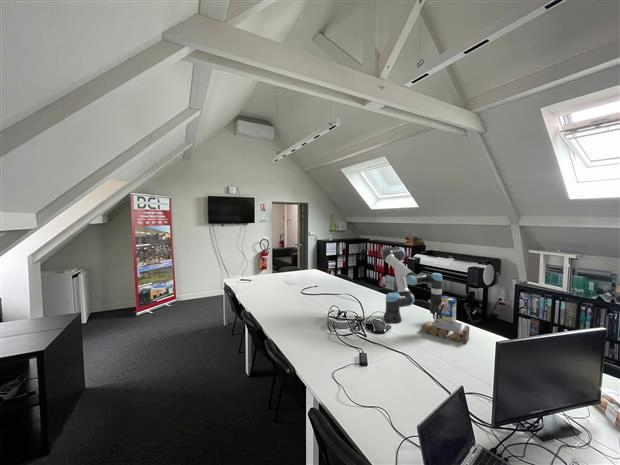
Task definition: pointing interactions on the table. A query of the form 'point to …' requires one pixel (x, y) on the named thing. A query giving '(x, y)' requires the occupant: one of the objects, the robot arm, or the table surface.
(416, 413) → the table surface
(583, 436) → the table surface
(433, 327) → the bed rollers
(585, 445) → the table surface
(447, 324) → the slab
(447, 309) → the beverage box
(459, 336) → the roller
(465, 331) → the cradle and stop
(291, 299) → the table surface
